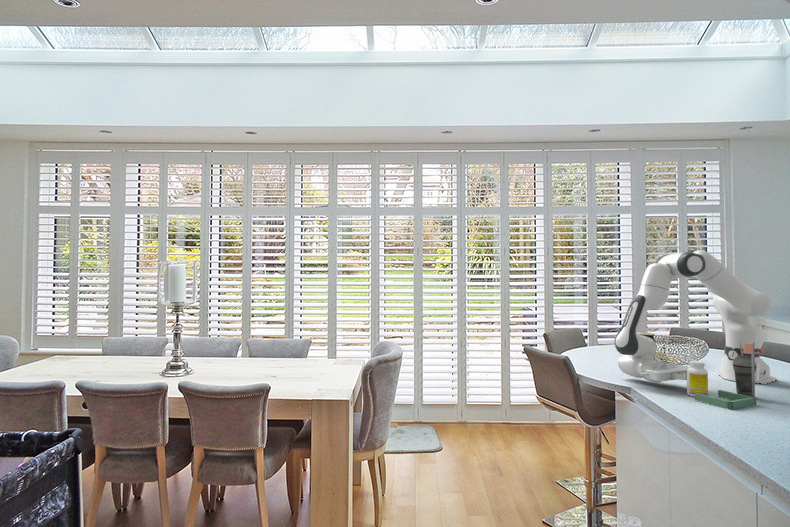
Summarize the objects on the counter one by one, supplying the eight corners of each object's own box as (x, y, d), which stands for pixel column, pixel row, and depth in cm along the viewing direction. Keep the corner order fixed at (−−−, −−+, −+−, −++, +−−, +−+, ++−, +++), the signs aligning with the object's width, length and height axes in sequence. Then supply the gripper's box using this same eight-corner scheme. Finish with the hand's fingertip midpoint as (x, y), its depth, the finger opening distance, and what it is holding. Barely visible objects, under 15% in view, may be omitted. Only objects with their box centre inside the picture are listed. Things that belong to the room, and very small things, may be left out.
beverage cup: (750, 400, 169) (750, 345, 169) (728, 395, 175) (728, 342, 176) (760, 397, 172) (760, 343, 172) (739, 393, 178) (738, 341, 179)
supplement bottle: (711, 398, 170) (711, 363, 170) (691, 397, 171) (691, 363, 171) (702, 394, 176) (702, 360, 177) (683, 393, 178) (683, 359, 178)
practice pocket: (720, 396, 173) (719, 337, 174) (756, 405, 162) (755, 342, 163) (695, 400, 167) (694, 339, 168) (730, 409, 156) (730, 344, 157)
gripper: (637, 364, 186) (669, 371, 173) (672, 361, 194) (705, 367, 181) (637, 380, 185) (669, 388, 173) (672, 376, 194) (705, 383, 181)
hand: (688, 377), depth 177 cm, fingers closed, pressing on supplement bottle
